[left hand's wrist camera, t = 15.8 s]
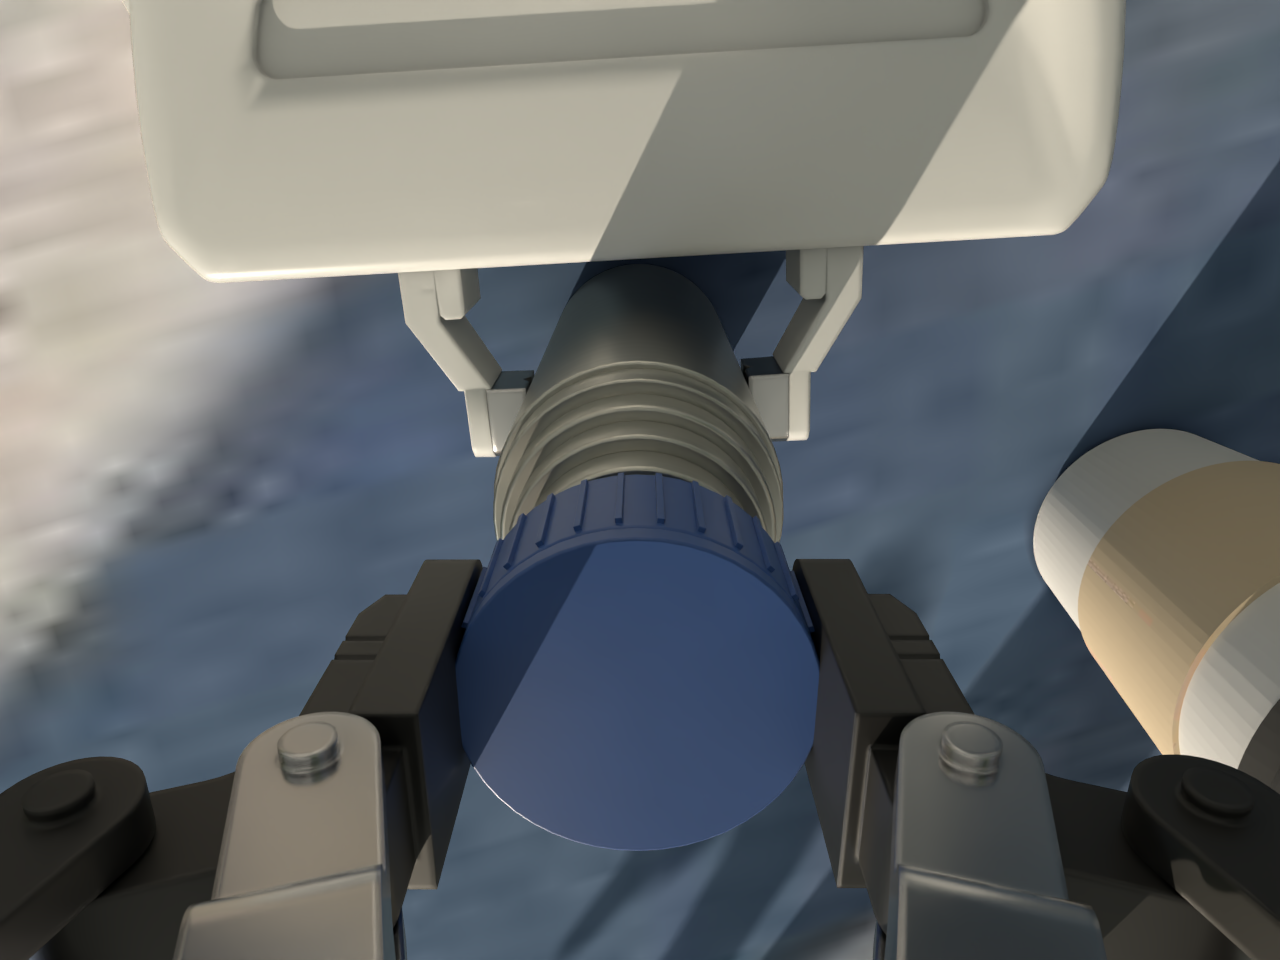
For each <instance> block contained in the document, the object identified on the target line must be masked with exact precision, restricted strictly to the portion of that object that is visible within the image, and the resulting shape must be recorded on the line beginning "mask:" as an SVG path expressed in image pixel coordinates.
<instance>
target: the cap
mask: <svg viewBox="0 0 1280 960" xmlns="http://www.w3.org/2000/svg"><path fill="white" fill-rule="evenodd" d="M461 627H462V628H465V629H466V630H465V633H464V636H463V639H462V641H461V644H460V647H459V651H458V654H457V658H456V661H455V670H456V682H457V693H458V705H459V716H460V727H461V738H462V747H463V749H464V751H465V753H466V755H467V757H468V758H469V760H470V762H471V764H472V766H473V767H474V769H475V770H476V772H477V773H478V775H479V776H480V777H481V779H482V780H483V782H484V783H485V784H486V785H487V786H488V787H489V788H490V789H491V790H492V792H493V793H494V794H495V795H496V796H497V797H498V798H499V799H500V800H501V801H503V802H504V803H505V804H506V805H507V806H509V807H510V808H511V809H512V810H513V811H515V812H516V813H518V814H519V815H521V816H522V817H524V818H525V819H527V820H528V821H530V822H531V823H533V824H535V825H537V826H539V827H541V828H543V829H545V830H547V831H549V832H551V833H553V834H556V835H558V836H561V837H564V838H566V839H569V840H572V841H575V842H579V843H583V844H587V845H591V846H595V847H601V848H608V849H615V850H633V851H644V850H661V849H668V848H674V847H680V846H685V845H689V844H693V843H696V842H700V841H704V840H707V839H709V838H712V837H714V836H717V835H719V834H722V833H725V832H727V831H729V830H731V829H733V828H734V827H736V826H738V825H740V824H742V823H744V822H746V821H747V820H749V819H750V818H752V817H753V816H755V815H756V814H757V813H759V812H760V811H762V810H763V809H764V808H766V807H767V806H768V805H769V804H770V803H771V802H772V801H774V800H775V799H776V798H777V797H778V796H779V795H780V794H781V793H782V792H783V791H784V790H785V788H786V787H787V786H788V785H789V784H790V783H791V782H792V781H793V779H794V778H795V776H796V775H797V773H798V772H799V770H800V769H801V767H802V766H803V764H804V763H805V761H806V759H807V757H808V754H809V752H810V750H811V748H812V746H813V741H814V730H815V718H816V707H817V695H818V684H819V671H820V662H819V658H818V655H817V652H816V649H815V646H814V643H813V640H812V637H811V634H810V633H811V632H814V631H815V629H814V627H813V624H812V621H811V618H810V615H809V612H808V609H807V607H806V604H805V601H804V598H803V595H802V592H801V590H800V587H799V584H798V581H797V578H796V575H795V573H794V570H793V571H790V570H789V567H788V564H787V561H786V558H785V555H784V552H783V549H782V547H781V545H780V543H779V542H776V543H774V542H773V540H772V539H771V537H770V536H769V534H768V533H767V532H766V531H765V530H764V529H763V528H762V526H761V522H760V519H759V518H758V517H757V516H754V517H751V516H750V515H749V514H748V513H746V512H745V511H744V510H743V509H742V508H740V507H739V506H738V505H736V504H735V503H733V501H732V498H731V497H729V496H728V495H726V496H725V497H723V496H722V495H720V494H718V493H716V492H713V491H711V490H709V489H707V488H704V487H702V486H700V485H699V483H698V482H696V481H692V483H690V482H687V481H683V480H680V479H675V478H669V477H663V476H662V474H661V473H656V474H655V475H638V474H635V475H624V473H618V476H611V477H606V478H601V479H596V480H591V481H588V480H587V479H585V480H582V481H581V484H579V485H576V486H573V487H571V488H568V489H566V490H564V491H562V492H560V493H558V494H556V495H554V494H553V493H551V494H549V495H548V496H547V499H546V501H544V502H543V503H541V504H539V505H538V506H536V507H535V508H534V509H532V510H531V511H530V512H529V513H528V514H527V515H525V514H524V513H522V514H521V515H520V516H519V518H518V521H517V524H516V525H515V526H514V527H513V528H512V529H511V531H510V532H509V533H508V534H507V535H506V536H505V538H504V539H503V540H502V539H501V538H499V539H498V541H497V542H496V545H495V548H494V551H493V554H492V556H491V559H490V562H489V565H488V568H486V567H483V569H482V571H481V574H480V577H479V580H478V582H477V585H476V588H475V590H474V593H473V596H472V599H471V601H470V604H469V607H468V610H467V612H466V615H465V618H464V621H463V623H462V626H461Z"/></svg>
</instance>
